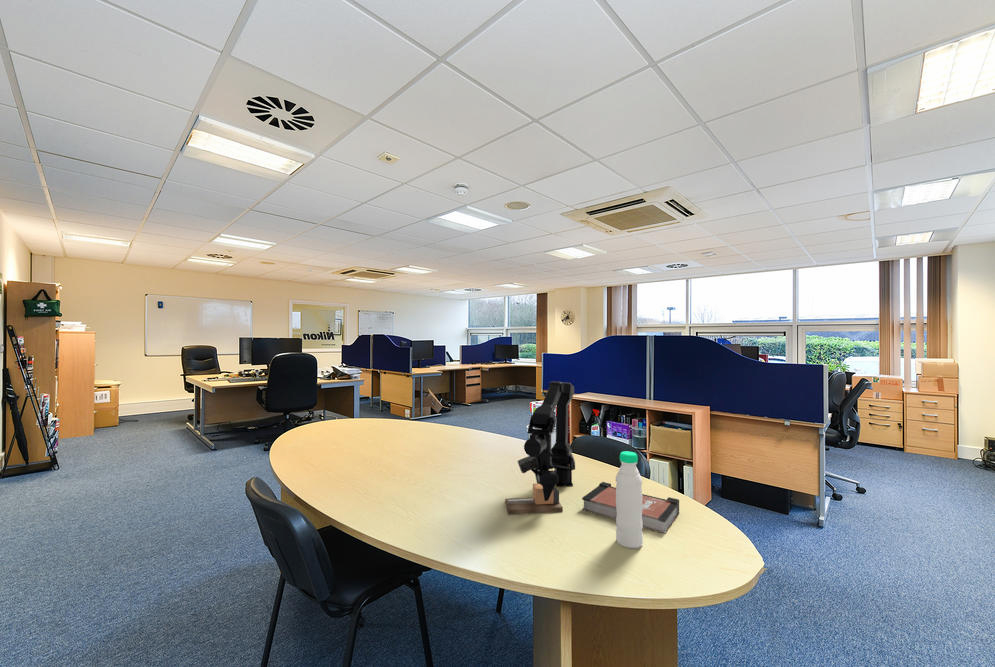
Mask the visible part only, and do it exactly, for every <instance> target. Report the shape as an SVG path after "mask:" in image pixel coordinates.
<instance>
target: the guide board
mask: <svg viewBox="0 0 995 667" xmlns="http://www.w3.org/2000/svg"><path fill="white" fill-rule="evenodd" d="M512 499H533V496H532V497H513V498H511V497H510V498H504V504H506V505H505V507H506V512H507V514H508V515H524V514H527V513H528V514H543V512H544V514H545V512H547V513H561V512H562V511H563V510H564V509H563V508H564V507H563V505H562V504H561V502H560V501H559V504H537V505H536V504H535V503H534V504H514V505H508V500H512Z"/></svg>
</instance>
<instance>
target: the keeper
mask: <svg viewBox="0 0 995 667" xmlns="http://www.w3.org/2000/svg"><path fill="white" fill-rule="evenodd" d="M532 497H533V498H534V499H535V504H536V505H537V504H553V500H554V494H553V491H552V493H551V495H550V497H549V499H548V501H545V500H544V495H543V489H542V485H540V484H539V483H538V484H537V483H532Z"/></svg>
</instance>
